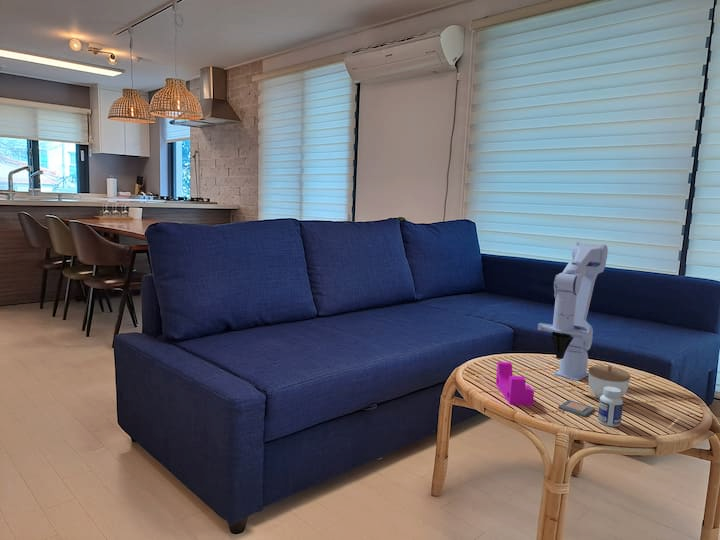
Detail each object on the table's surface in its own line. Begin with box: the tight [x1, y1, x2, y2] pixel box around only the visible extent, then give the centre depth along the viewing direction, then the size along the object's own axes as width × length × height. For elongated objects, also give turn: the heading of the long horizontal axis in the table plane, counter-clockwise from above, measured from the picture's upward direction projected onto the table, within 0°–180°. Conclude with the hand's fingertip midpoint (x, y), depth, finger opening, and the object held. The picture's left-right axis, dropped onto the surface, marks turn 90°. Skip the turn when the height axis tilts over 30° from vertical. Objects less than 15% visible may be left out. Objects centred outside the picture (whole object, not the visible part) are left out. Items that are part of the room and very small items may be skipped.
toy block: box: [495, 361, 535, 407], centre depth 144 cm, size 15×6×8 cm, turn 179°
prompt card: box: [557, 399, 596, 418], centre depth 136 cm, size 7×7×1 cm
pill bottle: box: [597, 386, 624, 428], centre depth 128 cm, size 5×5×9 cm
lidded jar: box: [587, 365, 631, 400], centre depth 146 cm, size 11×11×9 cm
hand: (559, 358), depth 152 cm, fingers closed
